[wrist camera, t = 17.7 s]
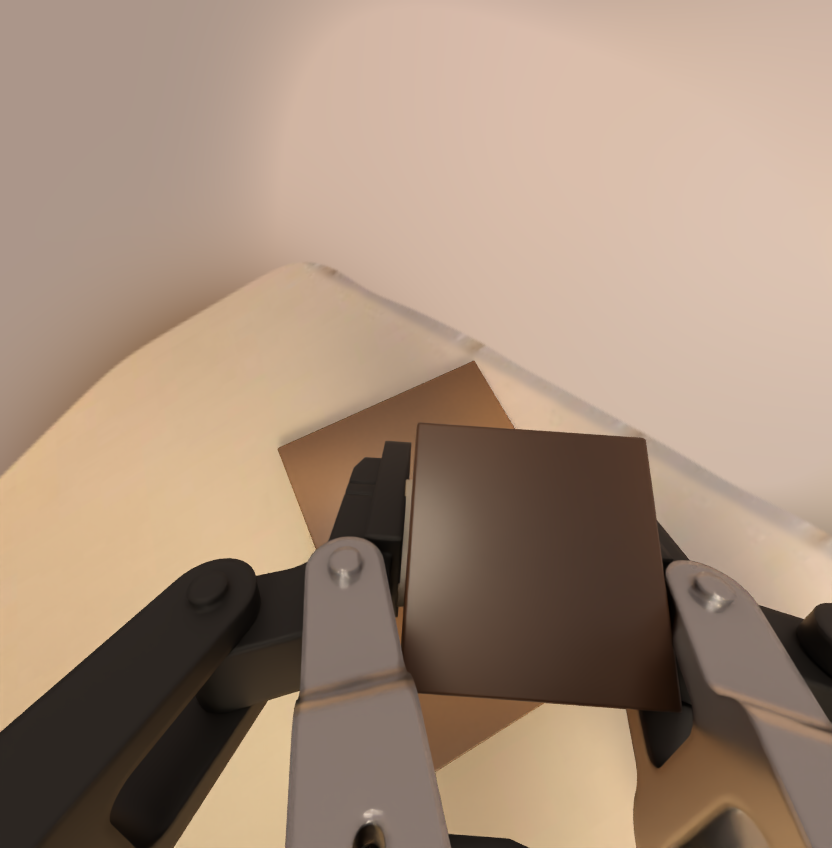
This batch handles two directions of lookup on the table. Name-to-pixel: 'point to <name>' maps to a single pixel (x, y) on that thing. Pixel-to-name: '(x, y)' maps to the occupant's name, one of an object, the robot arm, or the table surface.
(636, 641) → the post
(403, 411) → the cork mat
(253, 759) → the table surface
